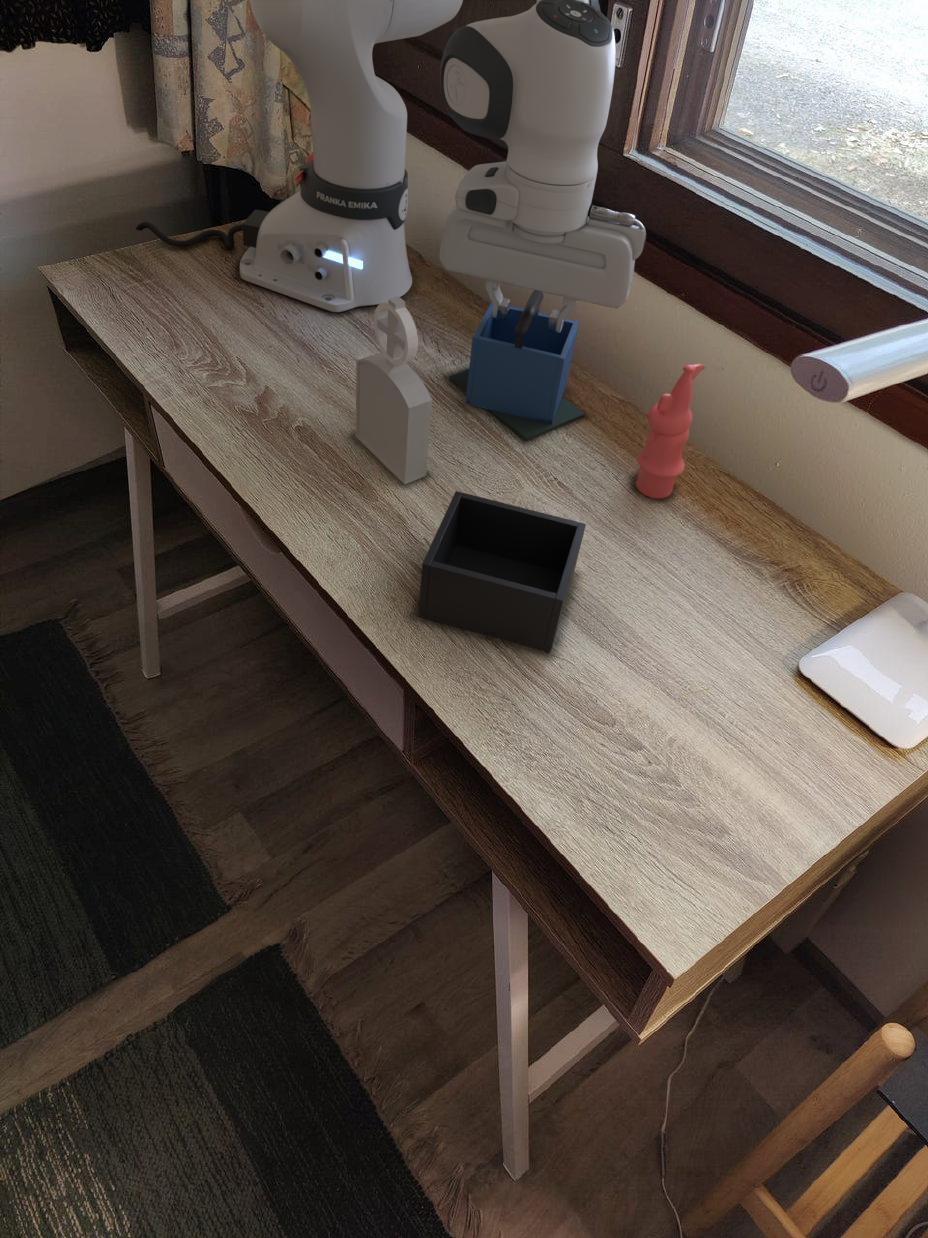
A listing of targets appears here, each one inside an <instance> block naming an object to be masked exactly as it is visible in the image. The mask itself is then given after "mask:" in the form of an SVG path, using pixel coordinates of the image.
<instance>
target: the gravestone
mask: <svg viewBox="0 0 928 1238" xmlns="http://www.w3.org/2000/svg"><path fill="white" fill-rule="evenodd" d="M373 329H374V334H375V339H376V342H377V344H378V347H379V350H380V351H381V352H379V353H376V354H373V355H370V356H366V357H363V358H360V359H357V360H355V370H356V371H355V437H356V438H357V440H359V441H360V443H362V444H363V446H365V447H366V448H367V449H368V450H369V451H370V452H371V453H372V455H374V456H375V457H376V458H377V459H378V460H379V461H380V462H381V463H382V464H383V465H384V466H385V467H386V468H387V469H388V470H389V471H390V472H391V473H392V474H393V475H394V476H395V477H396V478H397V479H398V480H399V481H400V482H401V483H403V485H407V484H410V483H413V482H415V481H417V480H419V479H422V478H425V477H427V473H428V472H427V470H428V458H429V444H430V432H431V422H432V421H431V420H432V407H433V399H432V397H431V394H430V393H429V390H428V389H427V387H426V385H425V383H424V382H423V380H422V378H420V376H419V375H418V374H417V373H416V371H415V370H414V369H413V368H412V367H411V366H410V365H409V364H408V363H410V362H413V361H414V360H415V358H416V357H417V354H418V350H419V336H418V331H417V327H416V323H415V321H414V318H413V316H412V315H411V313H410V311H409V310H408V308H407V307H406V301H405V300H403V299H402V298H401V297H399V296H397V297H394V298H390V299H388V302H384V303H381V304H377V306H376V308H375V310H374V314H373Z"/></svg>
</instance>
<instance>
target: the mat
mask: <svg viewBox="0 0 928 1238" xmlns="http://www.w3.org/2000/svg"><path fill="white" fill-rule="evenodd" d="M468 374H469V368H467V369H465V370H462V371H459V372H457V373H454V374H452V375H449V376H448V380H450V381H451V382H452V383H454V384H455V385H456V386H457V387H458V388H459V389H461V390H462V391H463V392H464V393H467V384H468ZM486 410H487V411H488V412H489V413H491V414H492V415H493V416H494V417H496V419H498V420H499V421H500V422H502V423H503V424H504V425H505V426H507V427H508V428H509V429H510V430H511V431H512V432H514V433H515V434H516V435H518V436H519V437H520V438H521V439H522V440H523V441H525V442H526V441H529V440H532V439H533V438H536V437H539V436H541V435H543V434H546V433H548V432H551V431H553V430H555V429H557V428H560V427H562V426H565V425H567V424H569V423H572V422H574V421H577V420H579V419H582V418H584V417H585V414H586V413H585V412H584V411H582V410H581V409H580V408H579V407H577V406H576V405H575V404H573V403H572V402H570V401H569V400H568V399H566V398H565V397H564V396H563V397H562V399H561V402H560V405H559V407H558V410H557V412H556V415H555V418H554V420H553V423H552V425H551V424H547V423H543V422H539V421H535V420H531V419H526V418H522V417H518V416H514V415H510V414H506V413H502V412H498V411H493V410H489V409H486Z"/></svg>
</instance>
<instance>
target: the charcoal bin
mask: <svg viewBox="0 0 928 1238" xmlns="http://www.w3.org/2000/svg"><path fill="white" fill-rule="evenodd" d="M586 525H587V523H584V522H580V521H578V520H577V521H576V520H573V519H569V518H565V517H561V516H557V515H553V514H549V513H545V512H542V511H537V510H532V509H530V508H526V507H521V506H517V505H513V504H509V503H505V502H502V501H498V500H493V499H490V498H485V497H482V496H478V495H474V494H471V493H466V492H461V491H457V490H455V492H454V494H453V496H452V498H451V500H450V503H449V505H448V506H447V509H446V511H445V513H444V516H443V517H442V520H441V522H440V524H439V527H438V528H437V531H436V533H435V535H434V538H433V540H432V542H431V544H430V546H429V548H428V550H427V552H426V555H425V556H424V560H423V561H422V563H421V574H420V575H421V576H420V587H419V600H418V612H417V617H418V618H422V619H424V620H428V621H432V622H436V623H439V624H444V625H448V626H451V627H455V628H459V629H462V630H464V631H465V630H466V631H469V632H473V633H476V634H479V635H484V636H487V637H491V638H495V639H498V640H502V641H506V642H510V643H513V644H517V645H521V646H524V647H527V648H532V649H536V650H538V651H544V652H546V653H552V649H553V646H554V643H555V639H556V636H557V632H558V629H559V626H560V622H561V619H562V615H563V611H564V608H565V605H566V602H567V599H568V596H569V591H570V588H571V585H572V581H573V578H574V573H575V570H576V566H577V562H578V558H579V554H580V549H581V546H582V541H583V539H584V535H585V529H586Z"/></svg>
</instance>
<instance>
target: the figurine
mask: <svg viewBox="0 0 928 1238" xmlns="http://www.w3.org/2000/svg"><path fill="white" fill-rule="evenodd" d="M705 369H706V366H705V365H703V364H702V363H694V364H690V363H688V364H685V365H683V368H682V370H683V373H682V374H681V375H680V376H679V378H678V379H677V381H676V382H675V384H674V386H673V388H672V389H671V391H670V392H667V393H663V394H662V395H661V396H660V397H659V400H658V402H656V403H655V404H654V405H653V406H652V407H651V408H650V409H649V412H648V414H647V422H648V425H649V426H650V428H651V431H650V432H649V435H648V437H647V438H646V442H645V445H644V448H643V449H642V450H641V451H640V452H639V454H638V456H637V463H638V465H639V470H638V473H637V477H636V480H635V486H636V489H637V490H638V491H639V492H640V493H641V494H643V495H644V496H647V497H649V498H652V499H664V498H667V497H669V496H671V494H672V492H673V489H674V486H675V484H676V480H677V477H678V476H680V475H681V474H682V473H684V471H685V467H686V465H685V461H684V459H683V452H684V450H685V447H686V445H687V443H688V440H689V437H690V428H691V426H692V422H693V413H692V410H691V409H690V408H691V404H692V400H693V394H694V388H693V387H694V386H693V381H694V380H695V379H696V378H697V376H699V374H700V373H702V371H704V370H705Z"/></svg>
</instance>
